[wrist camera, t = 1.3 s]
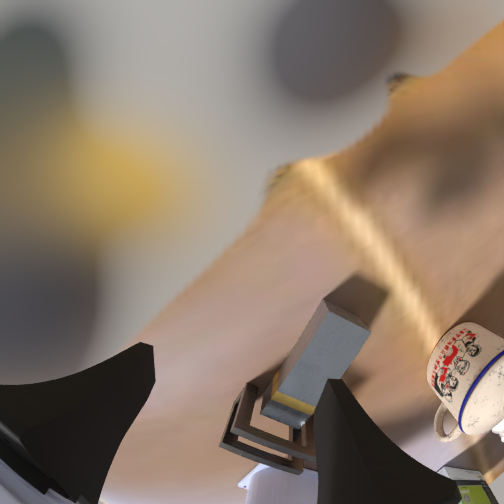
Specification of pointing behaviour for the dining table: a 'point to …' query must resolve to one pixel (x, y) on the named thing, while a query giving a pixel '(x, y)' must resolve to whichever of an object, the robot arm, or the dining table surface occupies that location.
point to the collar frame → (267, 437)
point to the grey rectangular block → (314, 364)
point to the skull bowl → (499, 430)
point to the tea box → (470, 486)
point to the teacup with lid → (468, 380)
